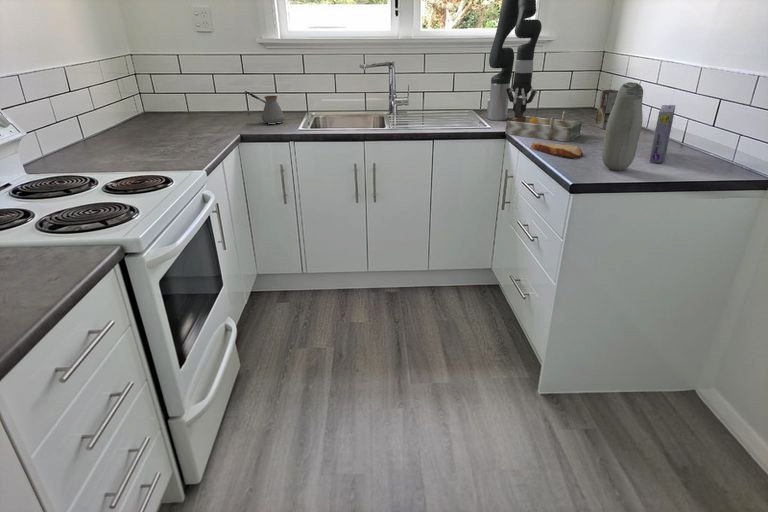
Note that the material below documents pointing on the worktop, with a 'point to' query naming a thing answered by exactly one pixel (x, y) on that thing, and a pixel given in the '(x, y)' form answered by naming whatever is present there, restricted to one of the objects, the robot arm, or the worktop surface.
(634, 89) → the grey bottle
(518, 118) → the block
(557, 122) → the beige and green tray
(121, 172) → the worktop surface
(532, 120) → the ball
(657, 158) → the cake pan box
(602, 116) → the coffee box
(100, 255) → the worktop surface
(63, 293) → the worktop surface
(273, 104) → the coffee pot
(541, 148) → the bread slice
